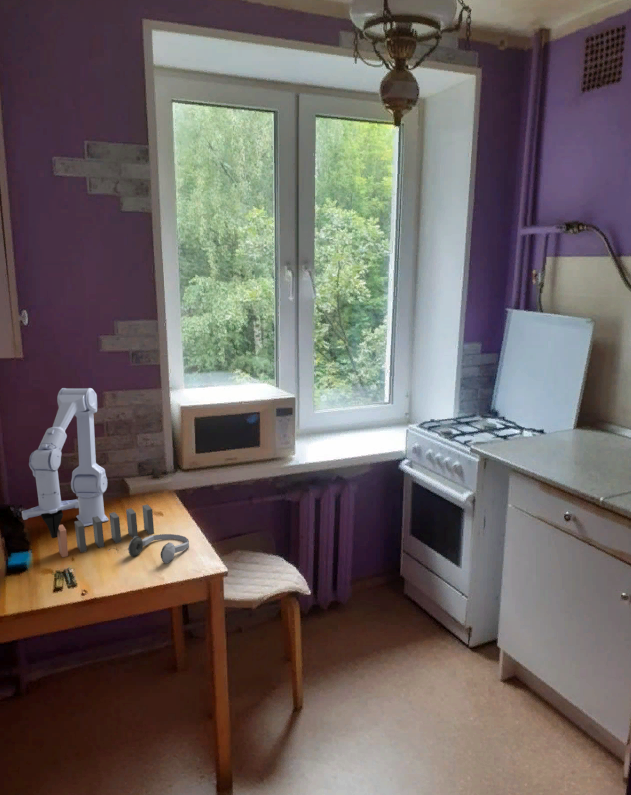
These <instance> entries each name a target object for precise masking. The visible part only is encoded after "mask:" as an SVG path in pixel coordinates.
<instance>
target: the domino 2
mask: <svg viewBox="0 0 631 795" xmlns="http://www.w3.org/2000/svg"><path fill="white" fill-rule="evenodd" d="M74 530H75V531H74V532H75V537H76V538H75V539H76V547H77V549H78V550H79V551H80V553H85V552H87V550H88V549H87V541H86V533H85V532H86V531H85V526H84V525H83V523H82V522H81V521H80V520H75V521H74Z"/></svg>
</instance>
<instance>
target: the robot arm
mask: <svg viewBox="0 0 631 795" xmlns="http://www.w3.org/2000/svg"><path fill="white" fill-rule="evenodd" d="M56 398H57V399H56V401H57V407H58V409H57V411H56V416H55V418H54V421H53V424H52V427H48V428H47V429H46V430H45V433H44V435H43V437H42V439H41V441H40V443H39V446H38V448H37V449H35V450H34V451H32V452H31V454H30V455H29V462H28V466H29V468H30V470H31V472H32V476H33V477H34V478H35V483H36V491H37V498H38V505H37V506H35V507H31V508H28V509H25V510H22V511H21V517H22V519H23V520H24V521H25V520H28V519H29V518H30V519H31V518H34V517H38V516H40V517H41V519H42V520H43V522H44V523H45V524H46V526H47V528H48V530H49V534H50V537H51V539H55V538H58V528H59V525H61V522H62V518H63V517H64V513H63V511H66V510H70V509H78V514H77V515H76V516H75V517H76V518H77V521H79V520H80V521H81V522H82V523H83V525H84V527H87V526H88V527H89V526H93V520H92V517H96V516H98V517H99V518H100V519H101V521H102V523H104V522H108V521H110V518H109V517H108V516H107V515H106V514H105V507H104V506H105V505H104V493H105V492H106V491H107V488H108V478H107V475H106V469H105V468H104V467H102V466H100V465H99V464H98V463H97V461H96V460H97V456H96V440H95V439H96V437H95V436H96V435H95V420H94V418H95V417H94V415H95V413H97V412H98V395H97V393H96V391H95V390H94V389H93V388H91V387H88V388H66V387H62V388H61V389H60V390H59V391H58V393H57V397H56ZM74 417H76V428H77V429H76V430H77V431H76V432H77V446H78V447H77V450H78V466H77V467H76V468H74V469H73V471H72V472H71V481H70V488H71V491H72V492H73V493H74V494H75V496H76V497H77V498H76V499H71V500H62V497H61V489H60V480H59V472H58V470H59V468H60V466H61V463H62V453H63V452H62V449H63V447H64V444H65V443H66V440H67V437H68V435H67V433H66V430H67V428H68V426H69V424H70V423H71V421H72V419H73V418H74Z"/></svg>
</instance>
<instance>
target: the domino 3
mask: <svg viewBox="0 0 631 795" xmlns="http://www.w3.org/2000/svg"><path fill="white" fill-rule="evenodd" d="M92 520H93V525H92V528H93V537H94V538H93V540H94V543H95V545H96V546H97V549H98V548H99V549H101V548H103V547H105V541H104V530H103V522H102V521H101V519H100V518H99V517H98V516H96V517H92Z"/></svg>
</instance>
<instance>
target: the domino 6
mask: <svg viewBox="0 0 631 795" xmlns="http://www.w3.org/2000/svg"><path fill="white" fill-rule="evenodd" d="M141 507H142V517H143V518H142V519H143V529H145V530H146V531H147V532H146V531H145V530H144V531H145V532H146V533H147V535H149V534H150V535H153V534H155V528H154V526H155V525H154V516H153V508H152V507H151V506H150V505H148V504H143V505H142V506H141ZM152 533H153V534H152Z"/></svg>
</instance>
